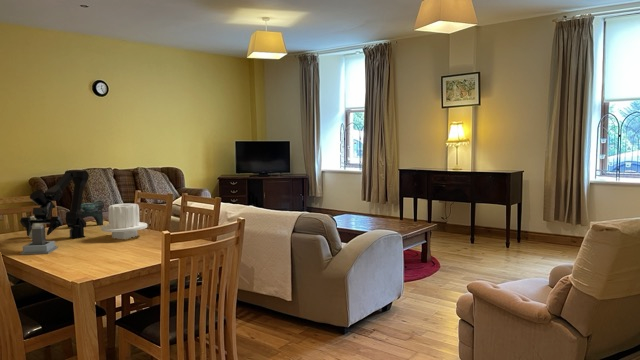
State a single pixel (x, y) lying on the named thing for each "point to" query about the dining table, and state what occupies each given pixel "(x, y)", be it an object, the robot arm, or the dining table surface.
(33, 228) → the dark gray plug block
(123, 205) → the ribbed cylinder on disc
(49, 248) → the socket holder
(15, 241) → the dining table surface
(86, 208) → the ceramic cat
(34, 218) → the skincare box
